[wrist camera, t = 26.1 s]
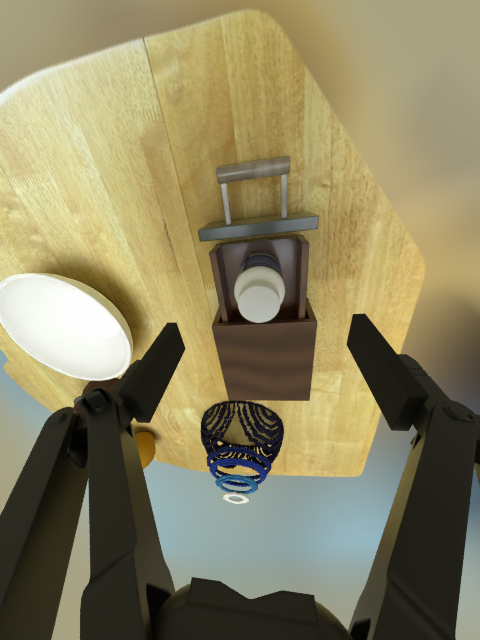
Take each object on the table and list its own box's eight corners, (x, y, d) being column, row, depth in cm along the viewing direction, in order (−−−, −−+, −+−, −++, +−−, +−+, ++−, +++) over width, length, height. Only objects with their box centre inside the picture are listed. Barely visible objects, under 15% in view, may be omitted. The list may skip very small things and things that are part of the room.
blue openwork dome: (247, 454, 59) (243, 522, 47) (188, 424, 53) (166, 493, 41) (300, 427, 49) (312, 505, 37) (234, 388, 44) (224, 464, 32)
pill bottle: (238, 250, 26) (227, 279, 18) (281, 248, 25) (289, 276, 17) (241, 289, 29) (233, 329, 21) (279, 288, 28) (286, 328, 20)
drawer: (198, 173, 23) (184, 169, 19) (312, 155, 21) (324, 147, 17) (225, 320, 33) (220, 338, 29) (303, 316, 32) (309, 334, 28)
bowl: (173, 330, 37) (157, 357, 31) (107, 366, 44) (84, 393, 38) (80, 231, 29) (34, 242, 23) (17, 294, 36) (-30, 315, 30)
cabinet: (220, 303, 33) (211, 326, 27) (307, 297, 31) (317, 321, 25) (233, 371, 41) (228, 400, 35) (302, 370, 39) (309, 400, 34)
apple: (131, 420, 55) (111, 457, 47) (164, 430, 56) (149, 467, 48) (129, 436, 60) (110, 472, 52) (159, 444, 61) (144, 480, 53)
